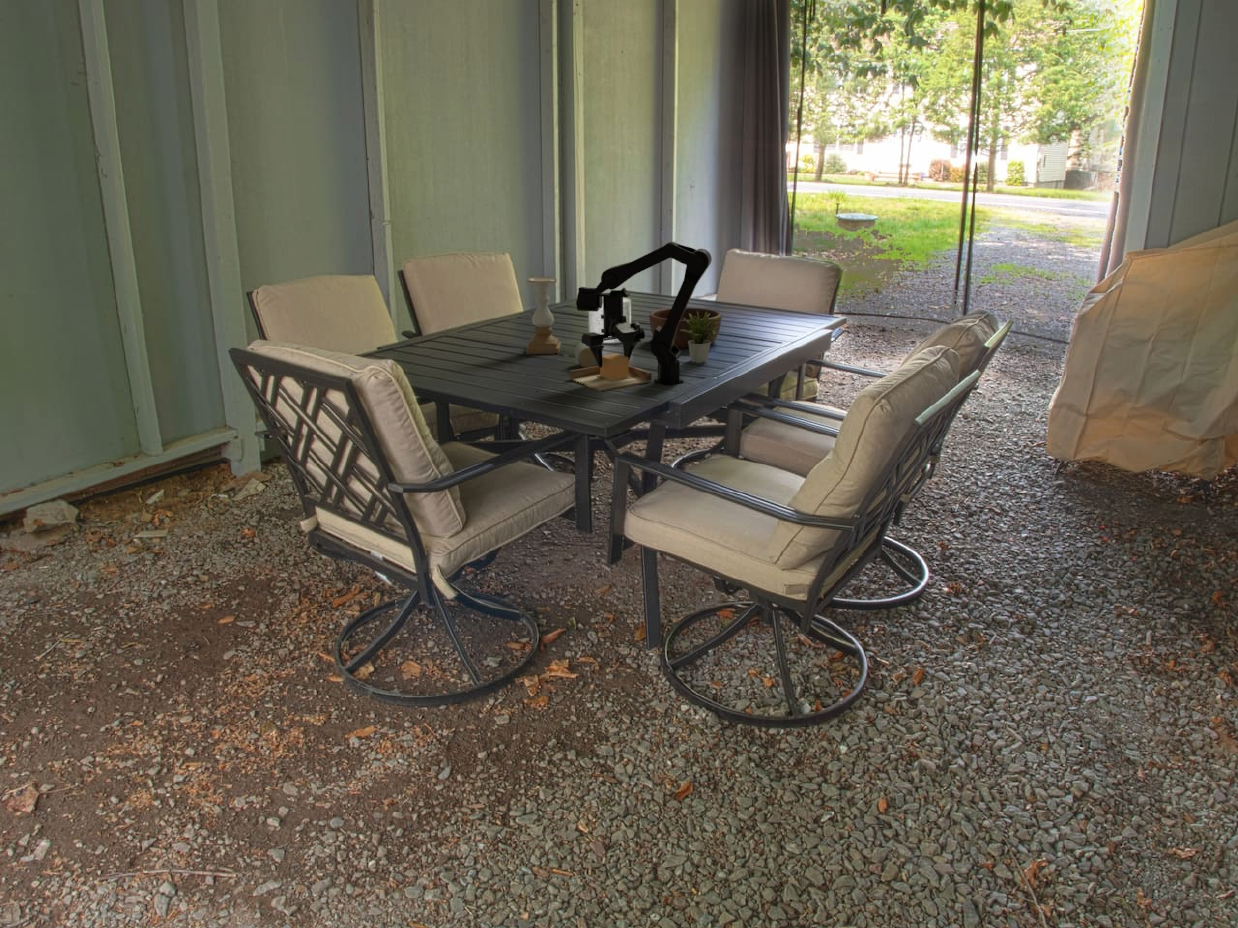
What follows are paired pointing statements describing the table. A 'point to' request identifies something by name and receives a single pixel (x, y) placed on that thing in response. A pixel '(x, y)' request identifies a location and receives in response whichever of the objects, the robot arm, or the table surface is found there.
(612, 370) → the cube
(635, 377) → the arena
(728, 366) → the table surface
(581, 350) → the ceramic mug
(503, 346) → the table surface
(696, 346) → the house plant
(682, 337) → the wooden bowl
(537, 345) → the candle holder
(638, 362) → the table surface
